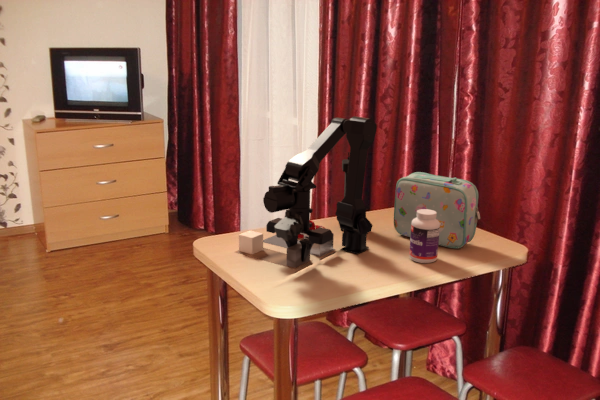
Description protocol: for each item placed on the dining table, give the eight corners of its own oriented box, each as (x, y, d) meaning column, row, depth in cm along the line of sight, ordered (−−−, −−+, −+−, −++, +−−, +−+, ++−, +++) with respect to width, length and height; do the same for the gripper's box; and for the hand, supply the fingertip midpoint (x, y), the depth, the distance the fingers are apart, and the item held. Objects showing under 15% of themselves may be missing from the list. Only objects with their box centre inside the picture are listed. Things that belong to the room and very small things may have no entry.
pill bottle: (403, 256, 185) (406, 209, 181) (426, 253, 188) (430, 206, 184) (419, 266, 178) (422, 216, 174) (442, 262, 181) (446, 214, 177)
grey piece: (335, 252, 187) (335, 233, 185) (320, 260, 181) (320, 240, 179) (276, 237, 199) (276, 219, 198) (260, 244, 193) (260, 225, 191)
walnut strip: (312, 264, 178) (312, 243, 176) (295, 272, 171) (296, 251, 170) (251, 247, 190) (251, 228, 188) (234, 255, 184) (234, 235, 182)
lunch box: (481, 246, 195) (487, 178, 189) (466, 254, 188) (472, 184, 182) (406, 227, 212) (410, 165, 206) (389, 235, 204) (393, 170, 198)
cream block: (263, 249, 185) (263, 233, 184) (252, 254, 181) (252, 238, 180) (250, 246, 188) (249, 230, 187) (238, 250, 184) (238, 234, 183)
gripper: (253, 206, 170) (253, 261, 174) (310, 219, 159) (309, 276, 164) (278, 197, 179) (278, 250, 183) (334, 209, 168) (332, 264, 172)
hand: (298, 260), depth 175 cm, fingers closed on walnut strip, 3 cm apart
